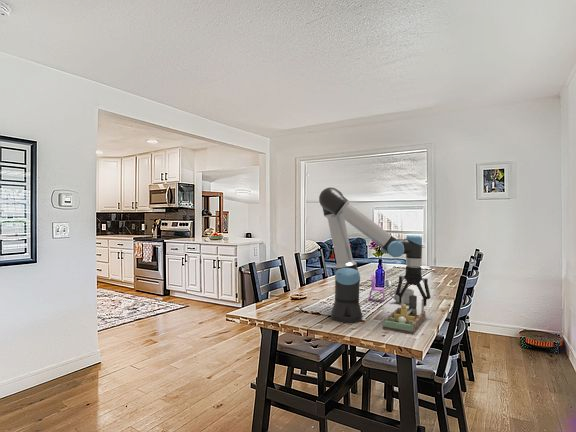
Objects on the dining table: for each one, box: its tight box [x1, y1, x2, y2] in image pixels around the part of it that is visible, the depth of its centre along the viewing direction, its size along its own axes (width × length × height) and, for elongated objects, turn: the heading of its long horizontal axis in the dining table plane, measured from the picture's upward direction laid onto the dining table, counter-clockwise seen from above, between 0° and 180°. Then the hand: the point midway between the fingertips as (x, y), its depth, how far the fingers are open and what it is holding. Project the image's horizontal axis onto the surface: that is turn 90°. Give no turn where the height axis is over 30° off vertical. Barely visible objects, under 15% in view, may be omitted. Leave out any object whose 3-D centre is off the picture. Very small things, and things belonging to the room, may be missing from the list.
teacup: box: [388, 287, 415, 306], centre depth 212 cm, size 14×11×8 cm
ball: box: [398, 316, 406, 324], centre depth 167 cm, size 4×4×4 cm
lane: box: [382, 307, 427, 335], centre depth 172 cm, size 28×13×4 cm, turn 150°
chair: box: [367, 274, 386, 303], centre depth 216 cm, size 8×9×15 cm
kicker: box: [394, 295, 418, 323], centre depth 178 cm, size 21×9×9 cm, turn 150°
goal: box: [382, 317, 414, 331], centre depth 163 cm, size 8×13×2 cm, turn 60°
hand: (412, 310), depth 186 cm, fingers open, 9 cm apart
